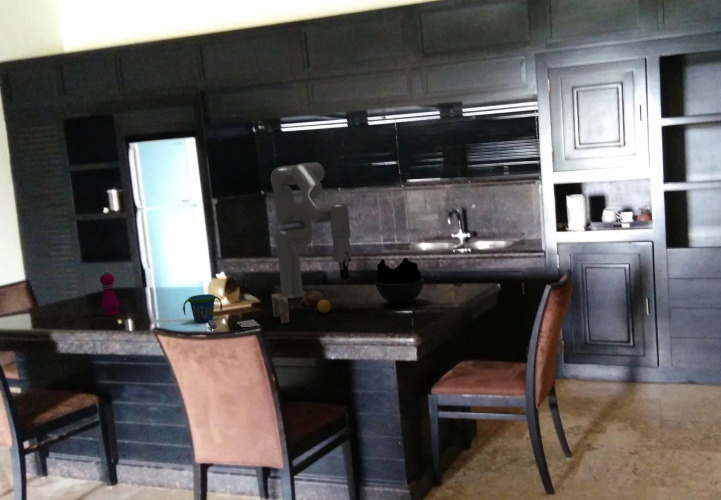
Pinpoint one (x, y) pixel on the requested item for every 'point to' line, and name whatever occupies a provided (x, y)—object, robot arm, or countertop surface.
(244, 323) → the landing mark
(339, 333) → the countertop surface
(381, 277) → the bowl of black rocks
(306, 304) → the bread roll
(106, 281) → the pepper mill
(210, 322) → the stopper
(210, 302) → the snack cup
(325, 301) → the ball
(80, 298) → the countertop surface
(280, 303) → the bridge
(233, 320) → the countertop surface
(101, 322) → the countertop surface
